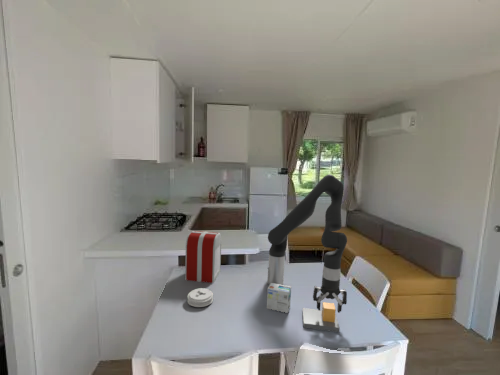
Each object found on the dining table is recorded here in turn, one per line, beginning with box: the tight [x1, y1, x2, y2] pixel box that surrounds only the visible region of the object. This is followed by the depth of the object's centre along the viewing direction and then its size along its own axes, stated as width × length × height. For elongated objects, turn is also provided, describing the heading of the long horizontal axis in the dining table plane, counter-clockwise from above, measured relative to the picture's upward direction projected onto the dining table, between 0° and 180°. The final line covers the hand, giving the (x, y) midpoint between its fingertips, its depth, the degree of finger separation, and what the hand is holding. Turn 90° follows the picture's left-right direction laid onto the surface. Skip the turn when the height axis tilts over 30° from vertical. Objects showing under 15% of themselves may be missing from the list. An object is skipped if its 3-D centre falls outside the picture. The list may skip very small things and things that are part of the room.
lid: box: [187, 287, 214, 308], centre depth 131 cm, size 13×13×5 cm
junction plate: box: [301, 307, 341, 333], centre depth 118 cm, size 15×12×2 cm
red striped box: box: [184, 230, 222, 284], centre depth 158 cm, size 16×18×27 cm
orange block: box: [321, 301, 337, 322], centre depth 117 cm, size 5×5×6 cm
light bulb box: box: [266, 283, 292, 314], centre depth 127 cm, size 11×7×11 cm, turn 71°
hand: (328, 310), depth 117 cm, fingers open, 8 cm apart
